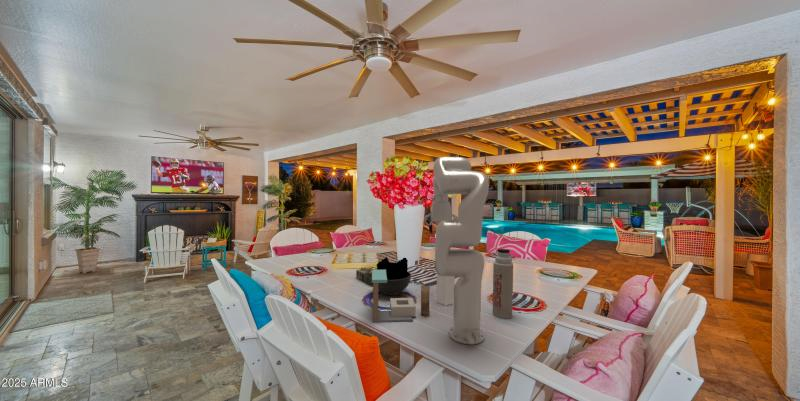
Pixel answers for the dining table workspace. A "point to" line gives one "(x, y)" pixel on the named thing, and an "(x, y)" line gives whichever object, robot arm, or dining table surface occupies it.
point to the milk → (445, 289)
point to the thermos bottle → (503, 284)
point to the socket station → (391, 303)
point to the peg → (425, 300)
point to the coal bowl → (394, 276)
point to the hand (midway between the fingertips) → (440, 232)
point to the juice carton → (365, 275)
